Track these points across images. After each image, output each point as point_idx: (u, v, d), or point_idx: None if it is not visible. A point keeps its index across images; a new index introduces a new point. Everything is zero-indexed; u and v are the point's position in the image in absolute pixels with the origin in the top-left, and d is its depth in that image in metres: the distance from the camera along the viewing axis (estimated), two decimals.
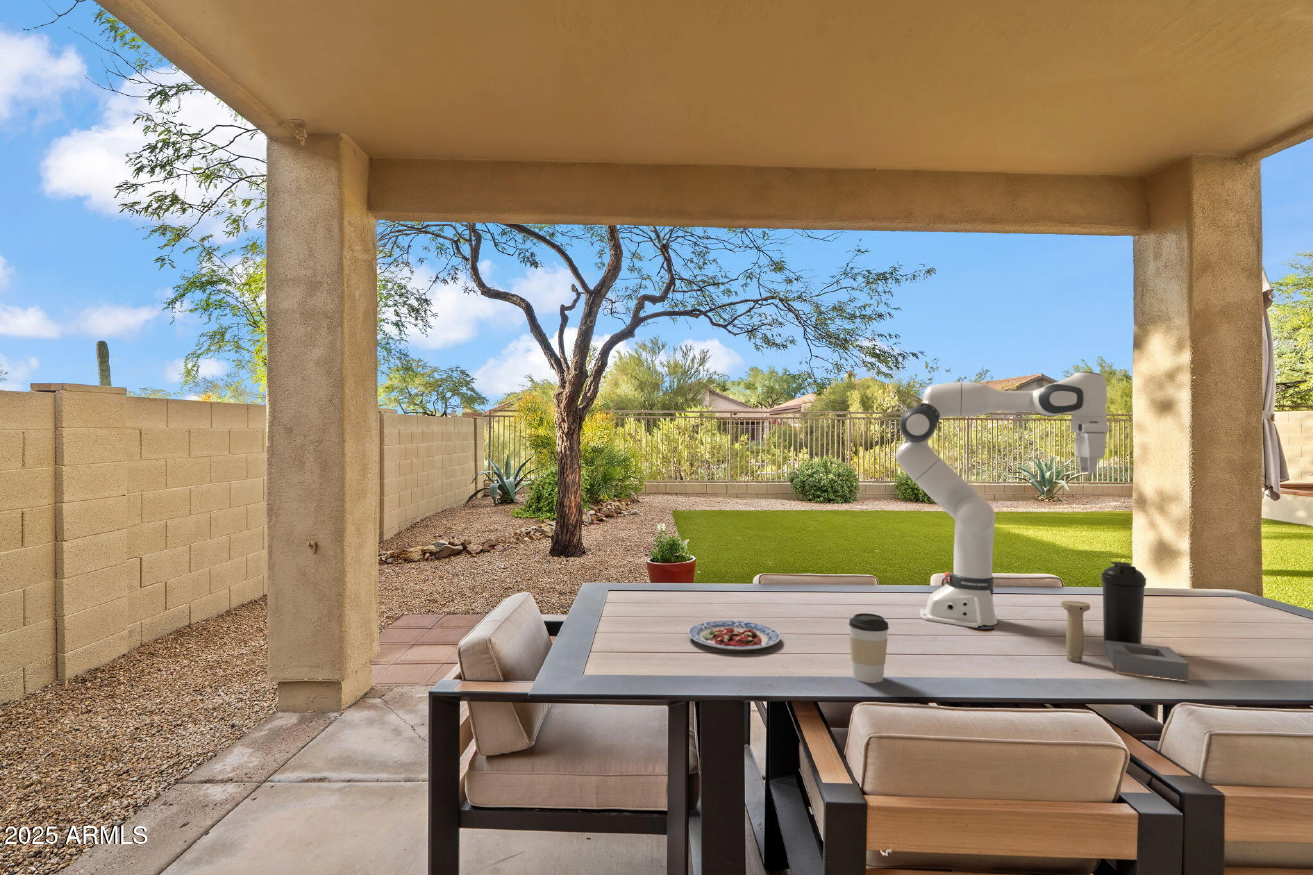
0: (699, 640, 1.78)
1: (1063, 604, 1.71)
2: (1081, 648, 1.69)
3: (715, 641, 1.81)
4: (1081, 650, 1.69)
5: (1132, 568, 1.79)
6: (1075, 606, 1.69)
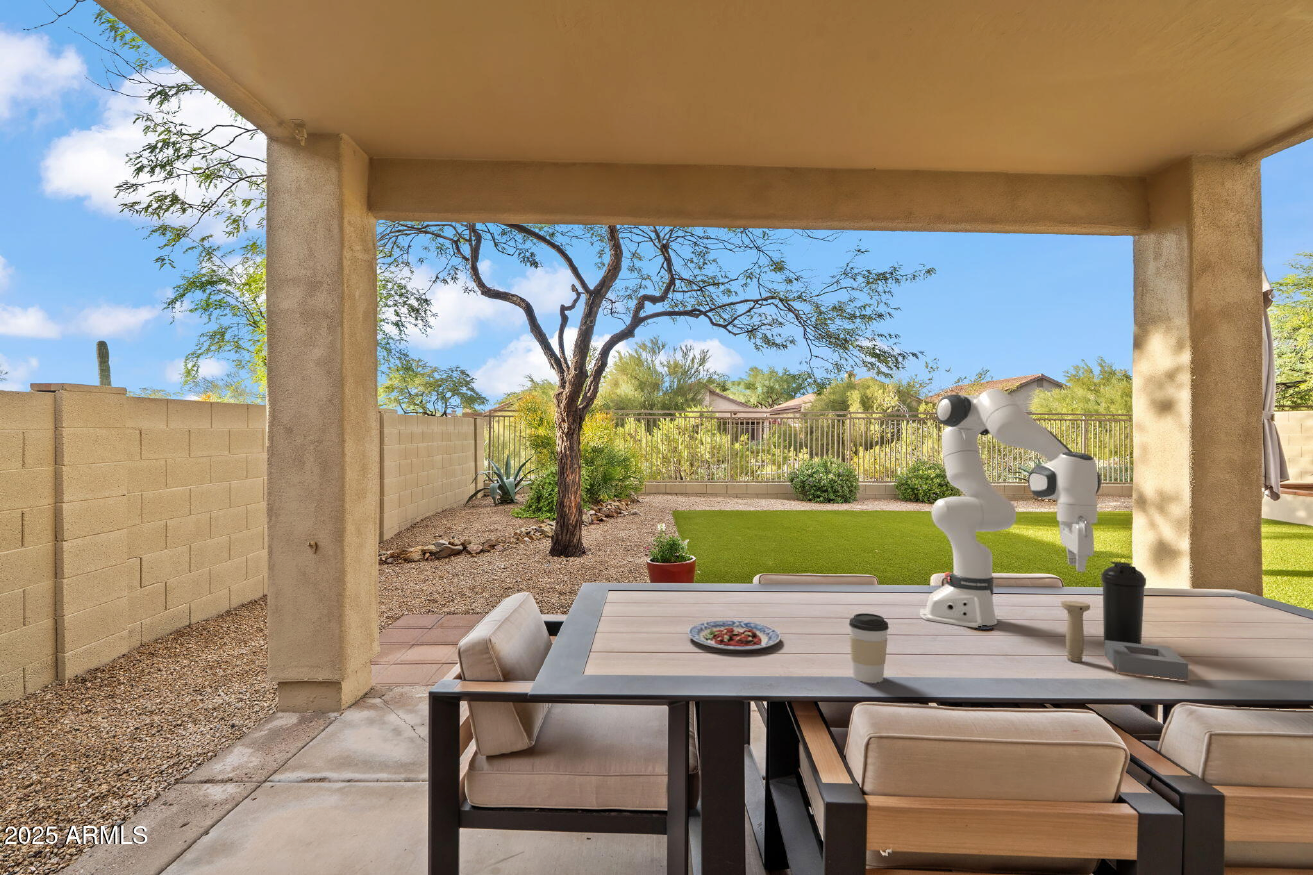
0: (699, 640, 1.78)
1: (1063, 604, 1.71)
2: (1081, 648, 1.69)
3: (715, 641, 1.81)
4: (1081, 650, 1.69)
5: (1132, 568, 1.79)
6: (1075, 606, 1.69)
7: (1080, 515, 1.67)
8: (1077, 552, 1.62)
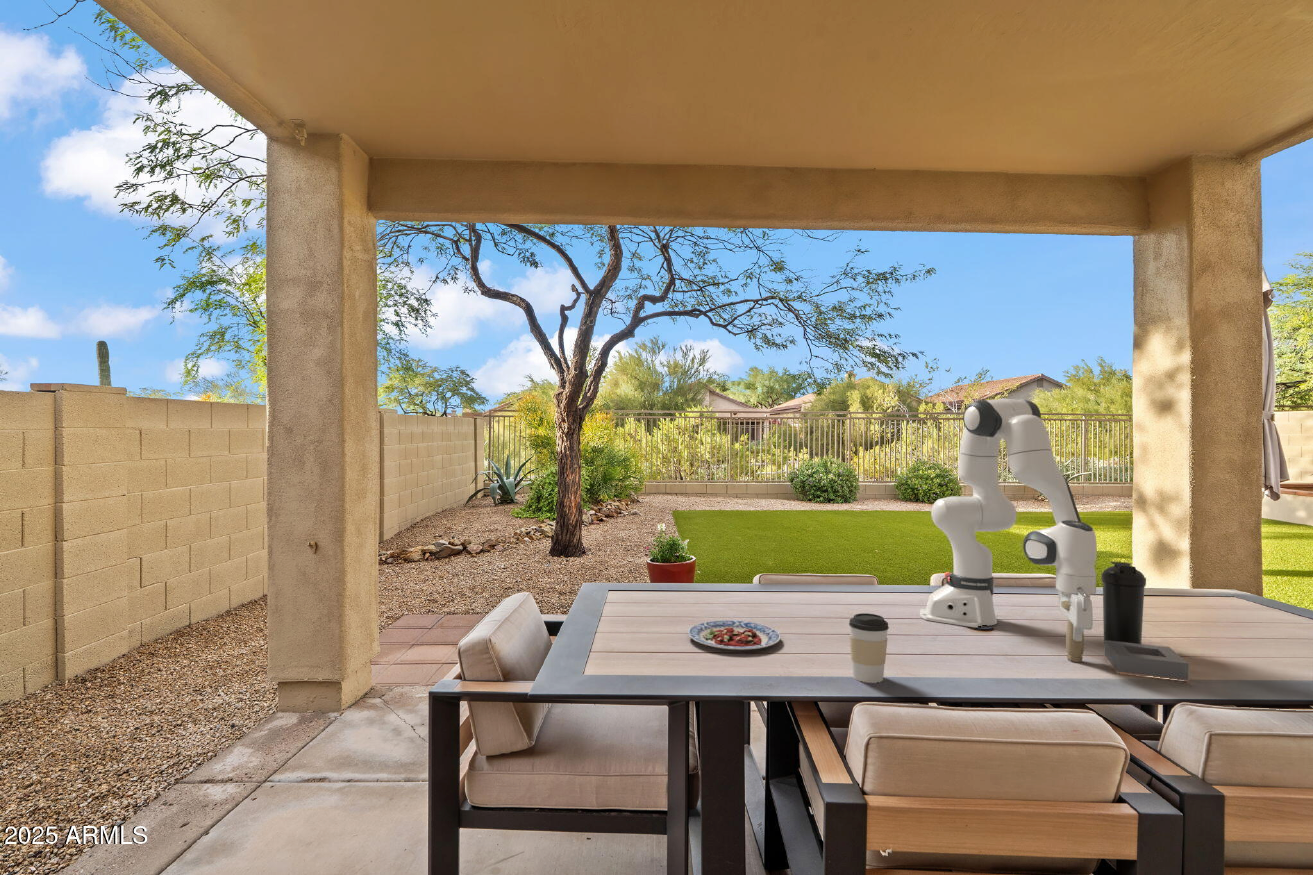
0: (699, 640, 1.78)
1: (1063, 604, 1.71)
2: (1081, 648, 1.69)
3: (715, 641, 1.81)
4: (1081, 650, 1.69)
5: (1132, 568, 1.79)
6: None
7: (1079, 586, 1.67)
8: (1076, 625, 1.63)
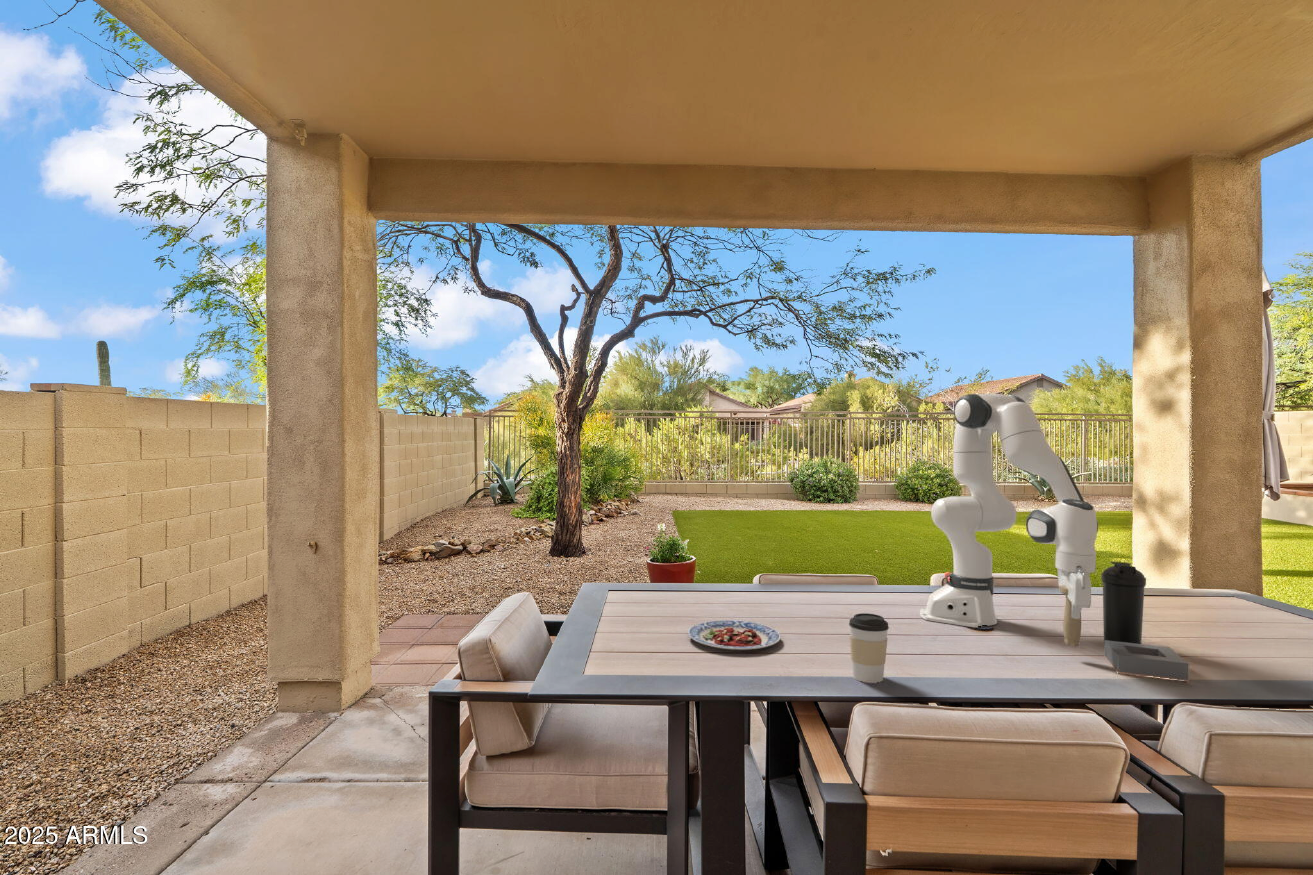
0: (699, 640, 1.78)
1: (1061, 589, 1.71)
2: (1078, 632, 1.70)
3: (715, 641, 1.81)
4: (1078, 634, 1.70)
5: (1132, 568, 1.79)
6: None
7: (1078, 565, 1.67)
8: (1074, 603, 1.63)
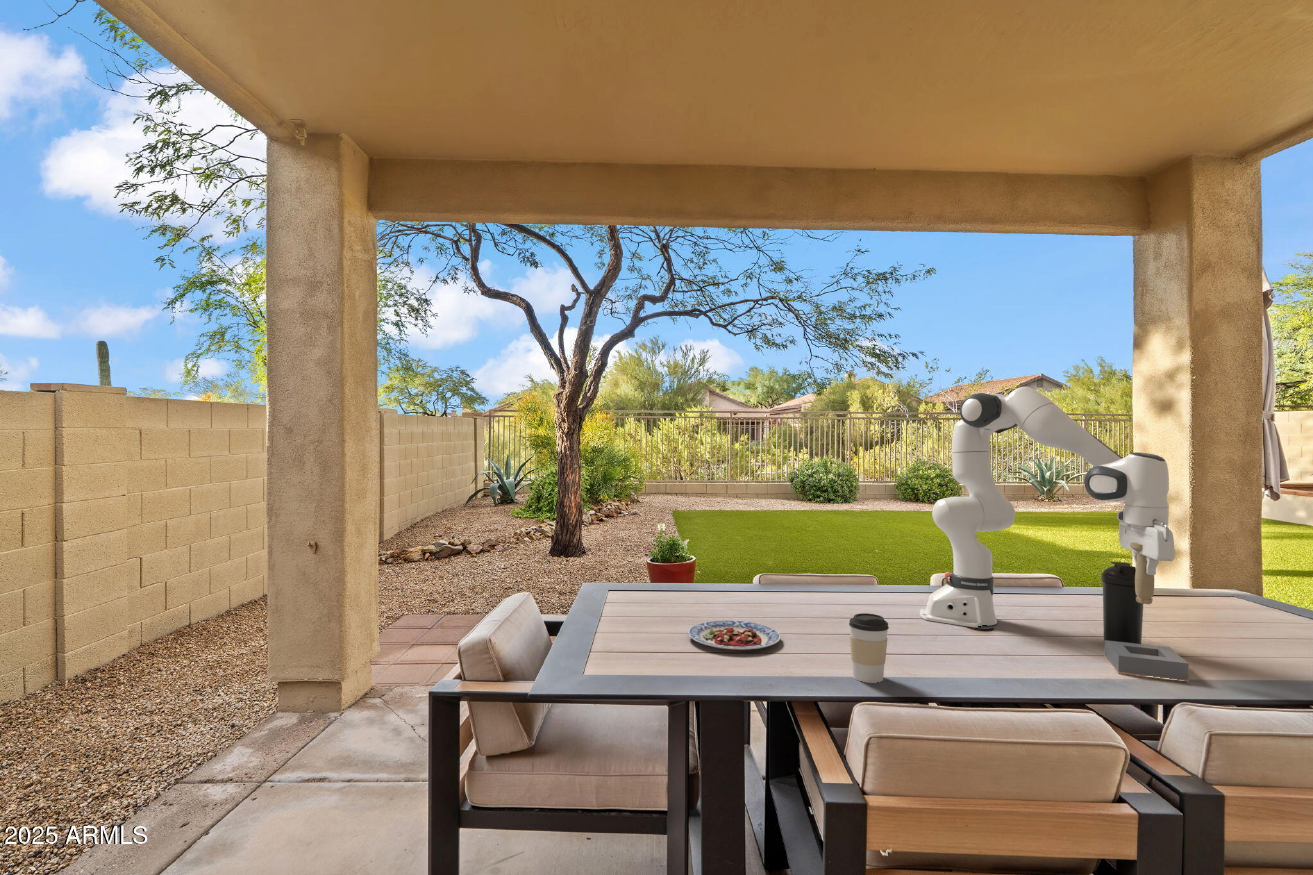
0: (699, 640, 1.78)
1: (1134, 545, 1.65)
2: (1152, 589, 1.64)
3: (715, 641, 1.81)
4: (1152, 591, 1.64)
5: (1132, 568, 1.79)
6: None
7: (1154, 518, 1.61)
8: (1157, 557, 1.56)
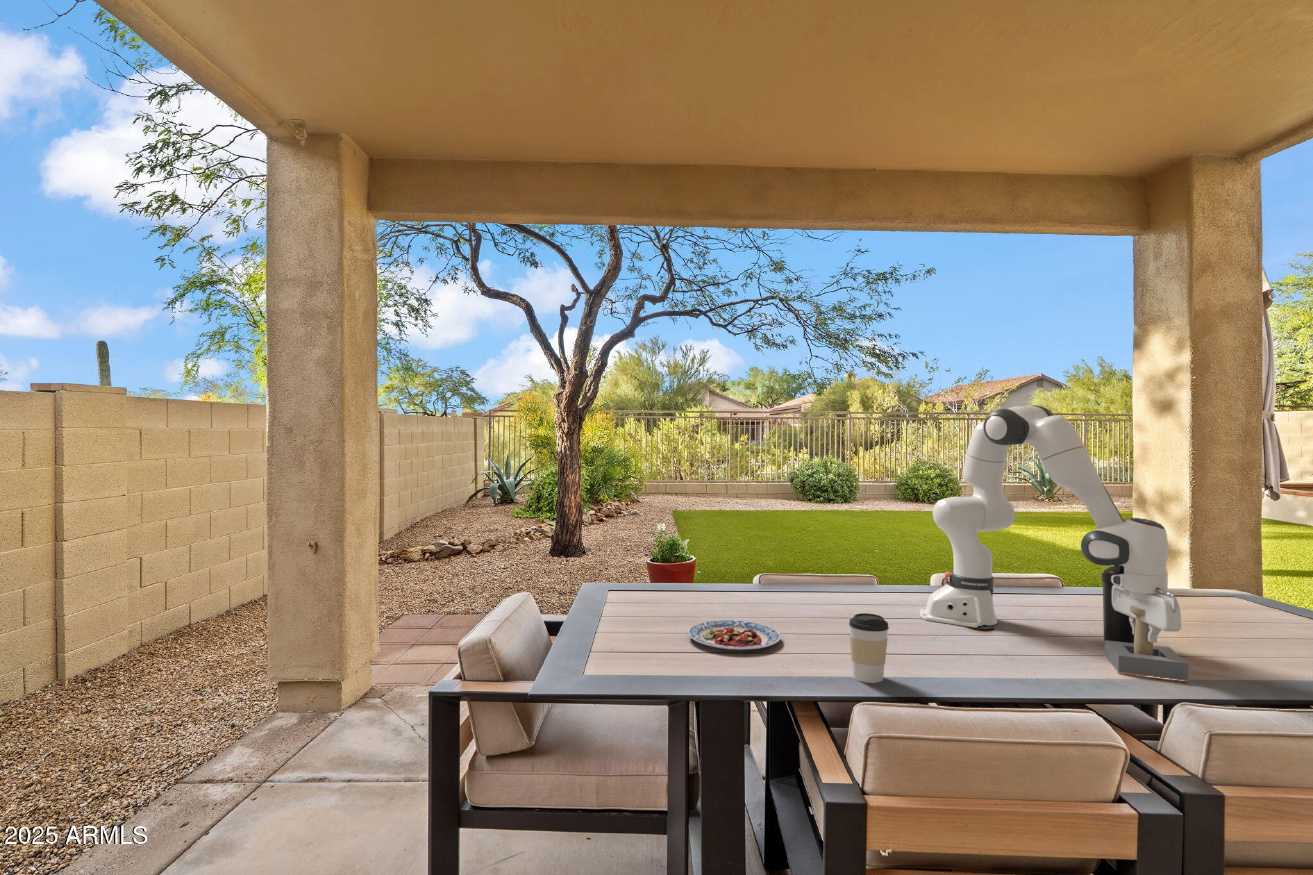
0: (699, 640, 1.78)
1: (1135, 609, 1.64)
2: (1152, 654, 1.64)
3: (715, 641, 1.81)
4: None
5: None
6: None
7: (1157, 586, 1.61)
8: (1165, 628, 1.56)
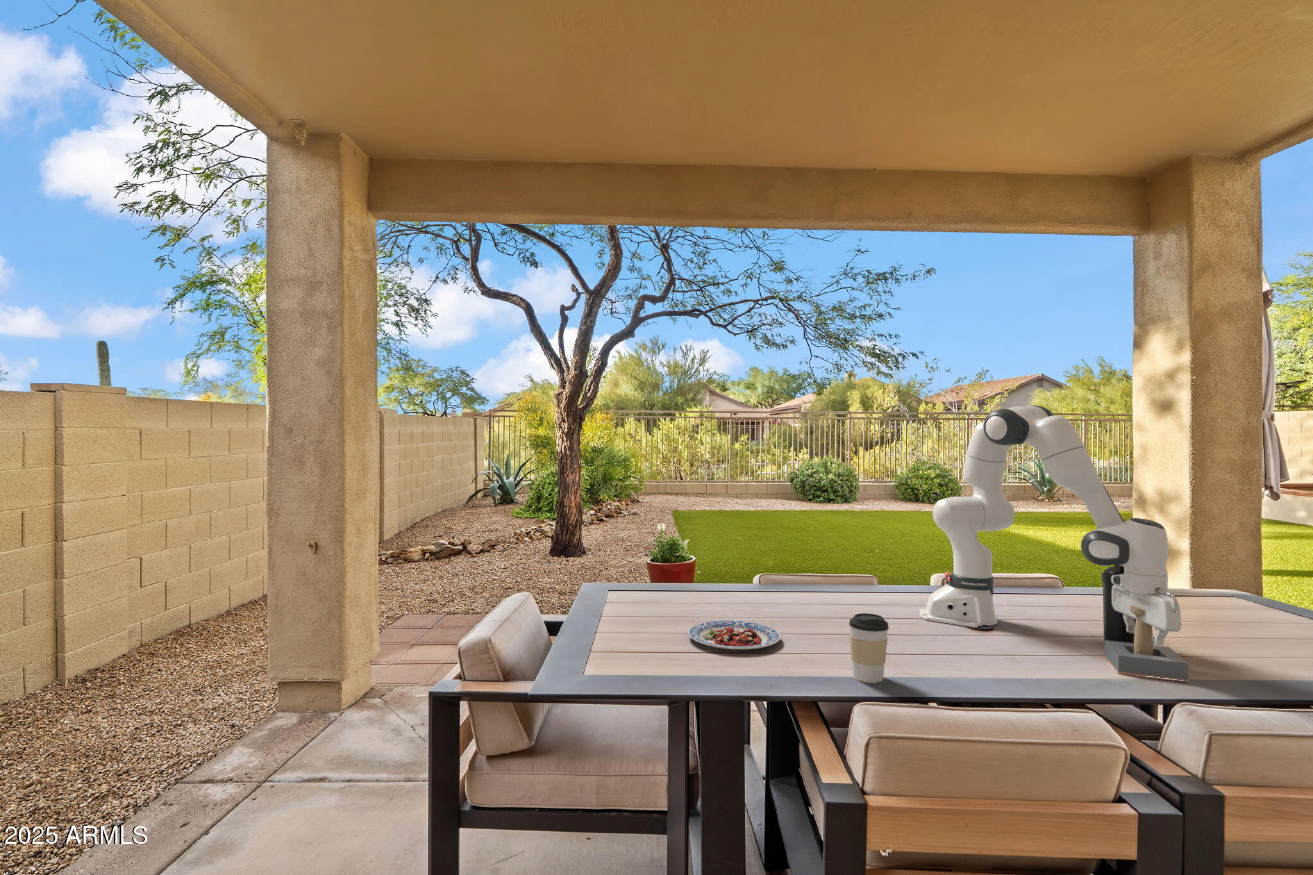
0: (699, 640, 1.78)
1: (1135, 609, 1.64)
2: (1152, 654, 1.64)
3: (715, 641, 1.81)
4: None
5: None
6: None
7: (1157, 586, 1.61)
8: (1165, 628, 1.56)
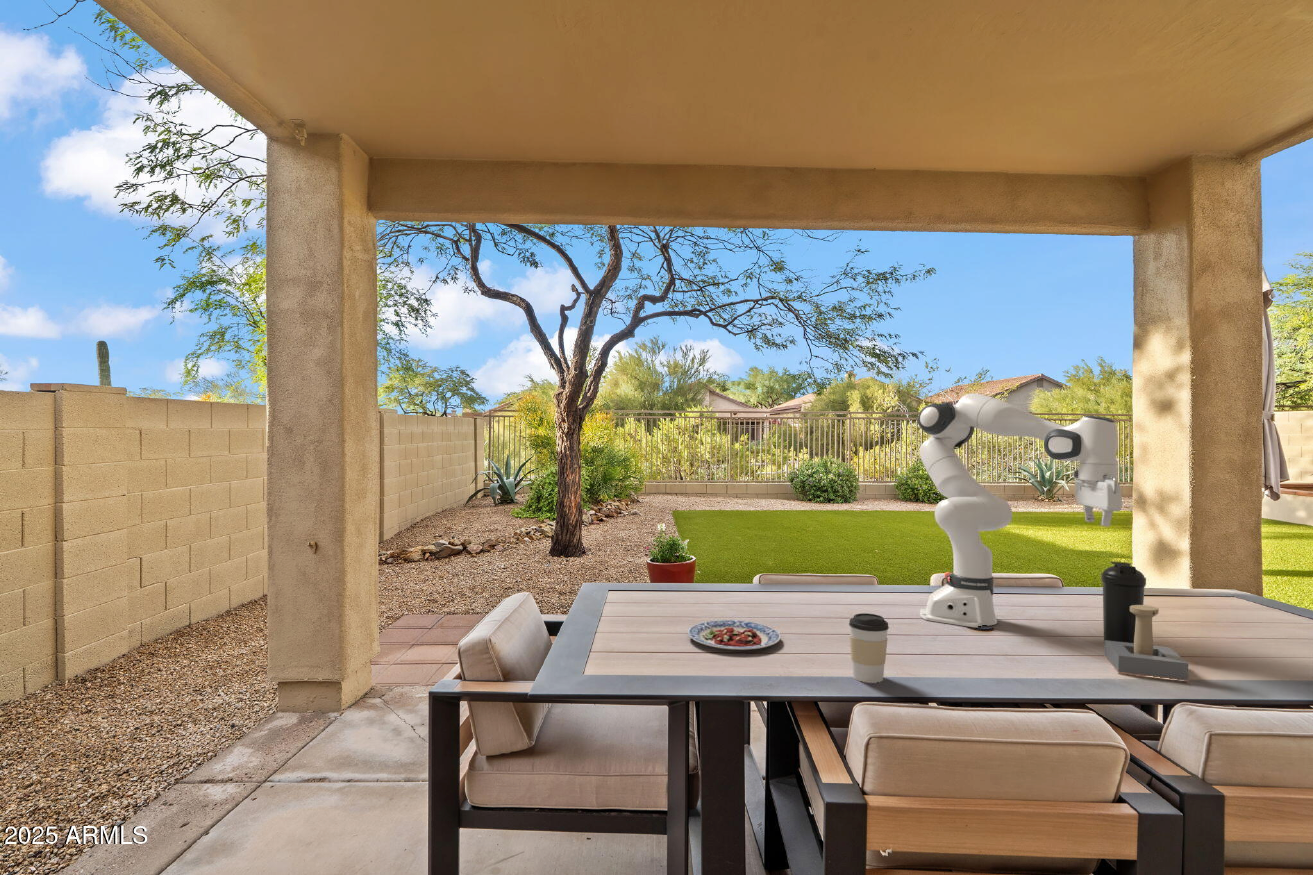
0: (699, 640, 1.78)
1: (1135, 609, 1.64)
2: (1152, 654, 1.64)
3: (715, 641, 1.81)
4: None
5: (1132, 568, 1.79)
6: (1149, 611, 1.63)
7: (1105, 473, 1.78)
8: (1107, 507, 1.73)
